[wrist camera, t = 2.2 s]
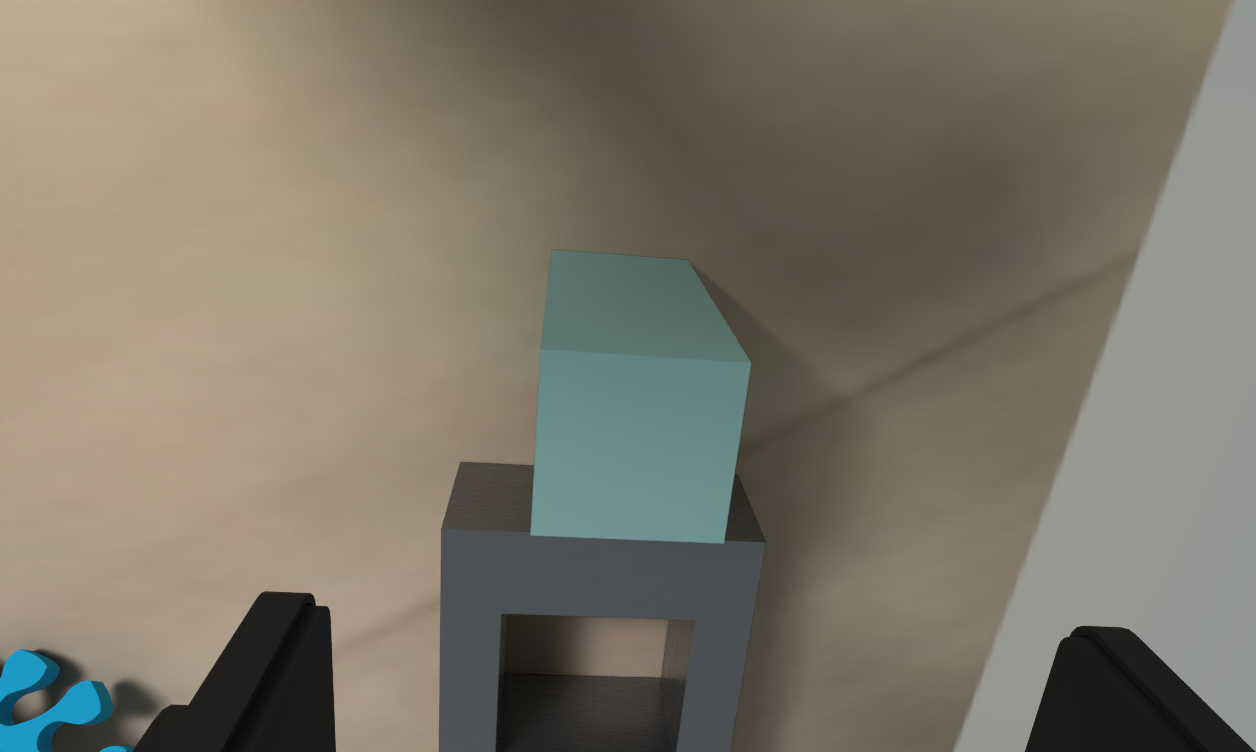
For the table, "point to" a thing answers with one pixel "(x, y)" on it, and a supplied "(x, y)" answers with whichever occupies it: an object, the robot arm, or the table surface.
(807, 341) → the table surface
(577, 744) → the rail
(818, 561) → the table surface
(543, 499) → the peg
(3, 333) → the table surface
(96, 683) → the gear
